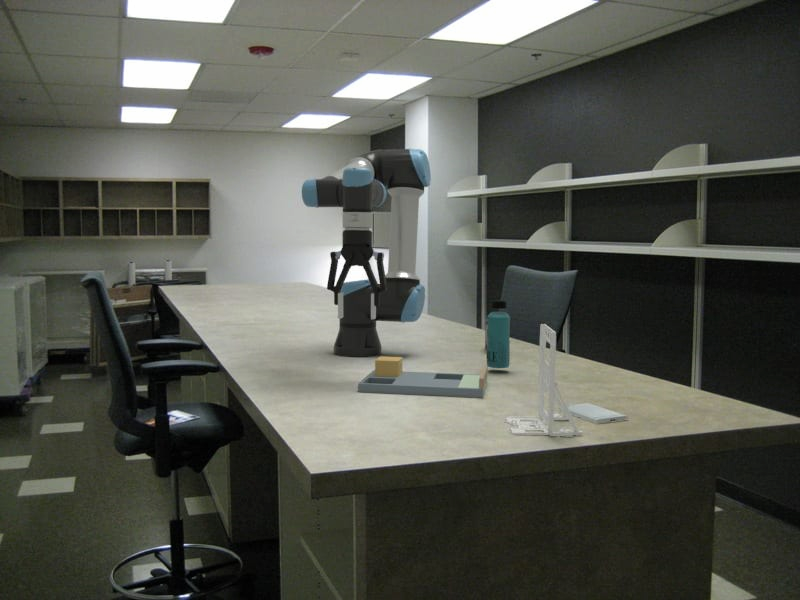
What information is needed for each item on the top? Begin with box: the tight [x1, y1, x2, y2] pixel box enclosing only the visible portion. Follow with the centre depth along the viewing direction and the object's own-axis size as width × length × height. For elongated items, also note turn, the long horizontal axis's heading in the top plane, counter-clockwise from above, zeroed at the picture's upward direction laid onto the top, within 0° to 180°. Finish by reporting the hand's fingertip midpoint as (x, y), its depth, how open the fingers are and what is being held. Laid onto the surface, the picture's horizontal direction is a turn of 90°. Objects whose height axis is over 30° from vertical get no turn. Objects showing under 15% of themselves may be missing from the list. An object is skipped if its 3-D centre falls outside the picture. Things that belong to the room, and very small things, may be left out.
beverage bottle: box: [486, 299, 511, 369], centre depth 207 cm, size 6×7×20 cm
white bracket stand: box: [503, 323, 584, 438], centre depth 148 cm, size 14×14×20 cm
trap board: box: [357, 364, 489, 399], centre depth 186 cm, size 30×18×4 cm, turn 80°
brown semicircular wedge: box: [484, 318, 488, 353], centre depth 242 cm, size 12×6×10 cm, turn 179°
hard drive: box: [558, 402, 629, 425], centre depth 159 cm, size 2×8×12 cm
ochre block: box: [374, 355, 403, 377], centre depth 192 cm, size 6×6×4 cm
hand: (356, 318), depth 192 cm, fingers open, 8 cm apart
